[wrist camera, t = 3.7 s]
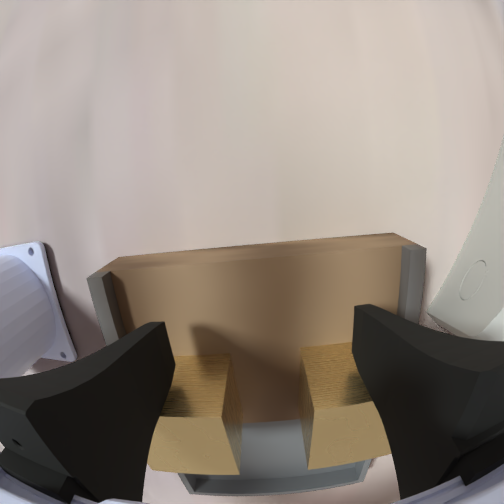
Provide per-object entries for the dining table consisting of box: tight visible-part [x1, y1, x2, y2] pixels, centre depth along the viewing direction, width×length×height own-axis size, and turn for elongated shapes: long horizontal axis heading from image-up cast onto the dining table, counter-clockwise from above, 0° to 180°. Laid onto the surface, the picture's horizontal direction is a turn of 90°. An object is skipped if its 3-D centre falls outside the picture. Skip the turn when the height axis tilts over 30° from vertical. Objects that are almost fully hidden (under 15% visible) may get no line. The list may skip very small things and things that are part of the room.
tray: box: [178, 419, 371, 496], centre depth 16 cm, size 14×10×2 cm
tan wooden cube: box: [298, 342, 392, 470], centre depth 11 cm, size 4×4×4 cm
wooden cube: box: [147, 353, 243, 475], centre depth 11 cm, size 4×4×4 cm
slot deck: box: [87, 233, 426, 423], centre depth 13 cm, size 14×9×3 cm, turn 95°
